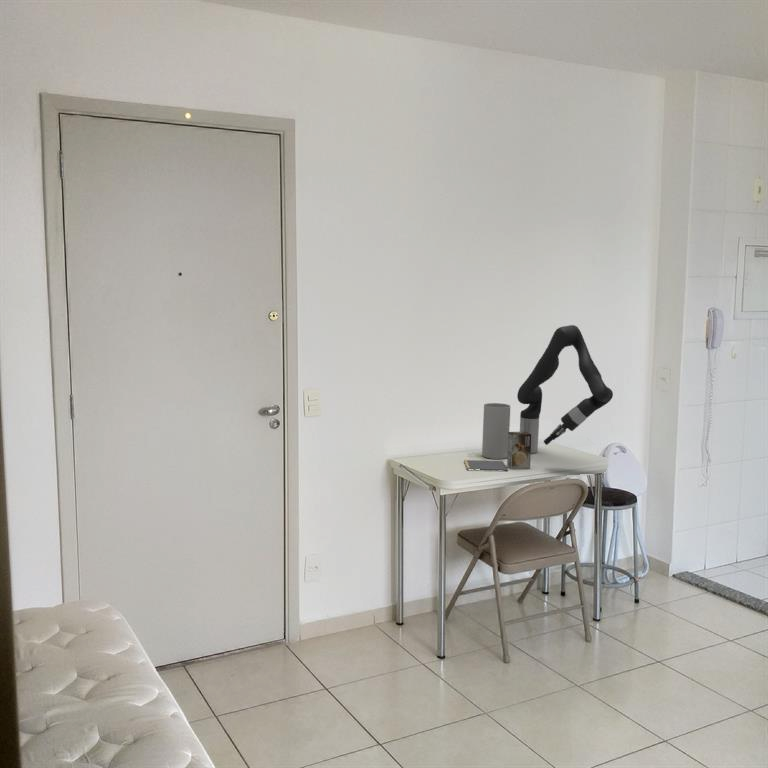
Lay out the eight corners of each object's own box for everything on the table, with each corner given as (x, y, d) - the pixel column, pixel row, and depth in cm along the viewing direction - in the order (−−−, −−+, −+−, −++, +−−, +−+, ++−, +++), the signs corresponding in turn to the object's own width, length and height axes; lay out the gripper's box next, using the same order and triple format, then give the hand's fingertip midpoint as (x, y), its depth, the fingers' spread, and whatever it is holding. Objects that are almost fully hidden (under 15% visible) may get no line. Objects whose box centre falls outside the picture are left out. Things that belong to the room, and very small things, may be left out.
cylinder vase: (476, 455, 381) (478, 404, 378) (495, 452, 389) (497, 402, 385) (494, 460, 371) (497, 408, 368) (513, 457, 379) (515, 406, 375)
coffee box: (525, 465, 364) (526, 431, 362) (530, 468, 358) (532, 434, 356) (506, 465, 362) (507, 431, 360) (511, 469, 356) (512, 434, 354)
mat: (464, 461, 368) (464, 459, 368) (502, 462, 368) (502, 460, 368) (467, 470, 352) (467, 468, 352) (507, 471, 352) (507, 468, 352)
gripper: (569, 409, 356) (540, 434, 362) (567, 414, 344) (537, 439, 349) (581, 421, 355) (552, 446, 361) (579, 427, 343) (549, 452, 348)
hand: (545, 443), depth 355 cm, fingers closed
